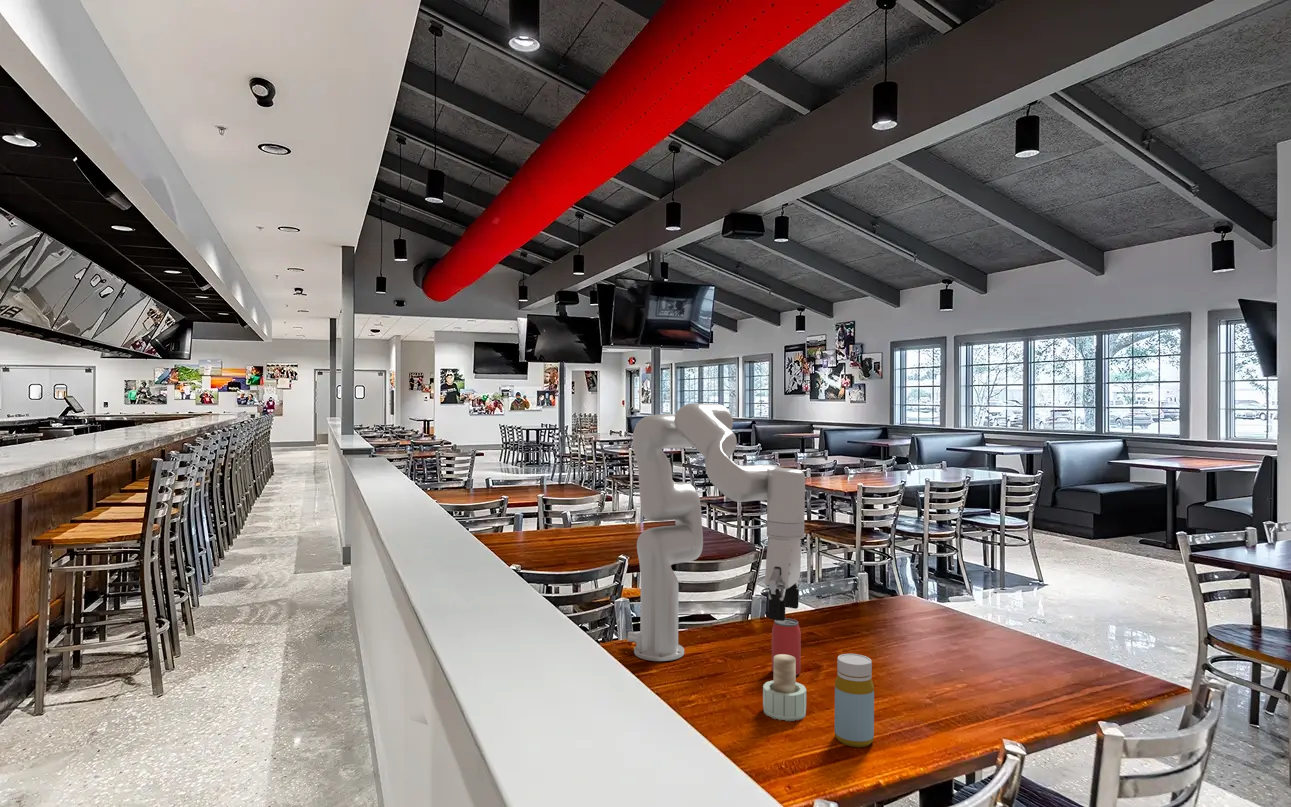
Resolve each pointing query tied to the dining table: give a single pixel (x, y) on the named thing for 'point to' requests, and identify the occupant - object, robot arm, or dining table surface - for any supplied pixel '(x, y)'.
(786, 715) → the cup
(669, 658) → the robot arm
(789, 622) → the beer can
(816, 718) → the dining table surface
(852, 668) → the bottle
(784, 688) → the plug
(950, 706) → the dining table surface
